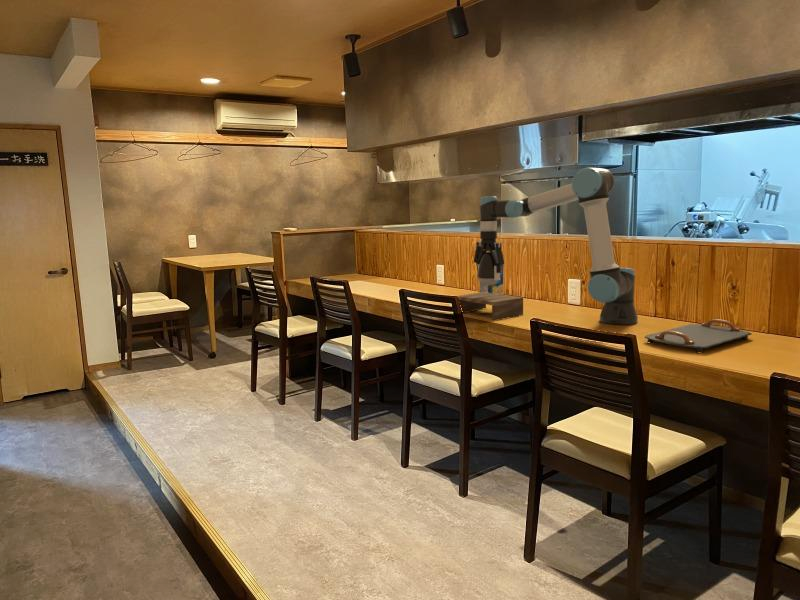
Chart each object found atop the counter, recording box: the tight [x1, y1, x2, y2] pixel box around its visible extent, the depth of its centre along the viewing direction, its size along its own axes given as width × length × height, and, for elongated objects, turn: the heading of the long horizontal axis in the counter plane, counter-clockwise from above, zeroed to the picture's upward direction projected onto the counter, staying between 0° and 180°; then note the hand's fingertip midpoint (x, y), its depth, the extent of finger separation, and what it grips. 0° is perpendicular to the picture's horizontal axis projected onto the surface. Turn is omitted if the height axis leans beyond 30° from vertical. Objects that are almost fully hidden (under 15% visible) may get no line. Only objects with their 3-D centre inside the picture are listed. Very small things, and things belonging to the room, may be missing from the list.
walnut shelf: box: [456, 291, 524, 321], centre depth 280 cm, size 26×18×8 cm
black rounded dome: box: [476, 251, 498, 286], centre depth 277 cm, size 10×10×15 cm
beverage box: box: [479, 264, 504, 295], centre depth 324 cm, size 7×11×22 cm, turn 124°
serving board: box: [643, 318, 752, 353], centre depth 218 cm, size 39×23×6 cm, turn 125°
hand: (488, 278), depth 278 cm, fingers closed on black rounded dome, 10 cm apart
